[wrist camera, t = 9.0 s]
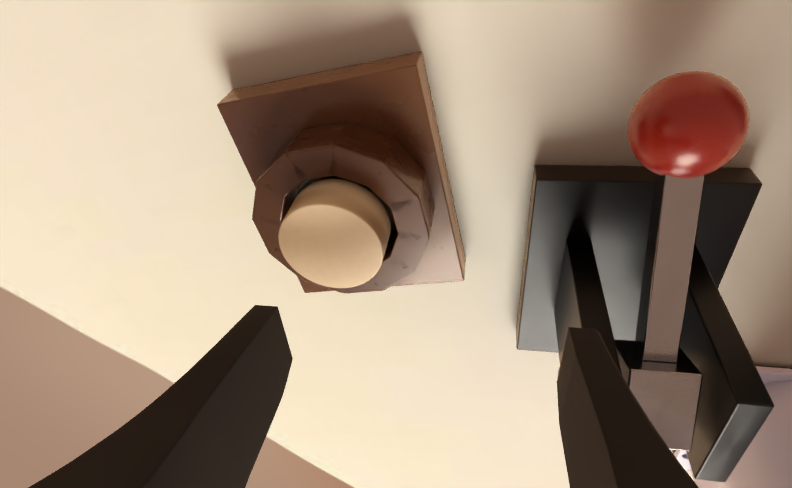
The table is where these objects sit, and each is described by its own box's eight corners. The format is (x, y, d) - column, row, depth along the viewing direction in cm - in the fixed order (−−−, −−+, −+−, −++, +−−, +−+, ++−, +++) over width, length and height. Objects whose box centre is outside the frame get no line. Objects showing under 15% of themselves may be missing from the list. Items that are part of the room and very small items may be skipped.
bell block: (465, 260, 24) (461, 312, 22) (313, 273, 26) (292, 322, 24) (421, 50, 19) (408, 86, 16) (231, 90, 21) (192, 126, 18)
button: (401, 255, 21) (394, 285, 19) (312, 264, 22) (299, 292, 20) (375, 171, 18) (366, 197, 17) (277, 185, 20) (261, 210, 18)
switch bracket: (534, 164, 21) (551, 322, 14) (750, 167, 19) (887, 344, 13) (515, 332, 27) (521, 499, 20) (679, 343, 25) (745, 527, 19)
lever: (622, 76, 17) (651, 66, 14) (726, 74, 16) (782, 65, 13) (589, 399, 20) (607, 451, 17) (677, 407, 19) (713, 462, 16)
